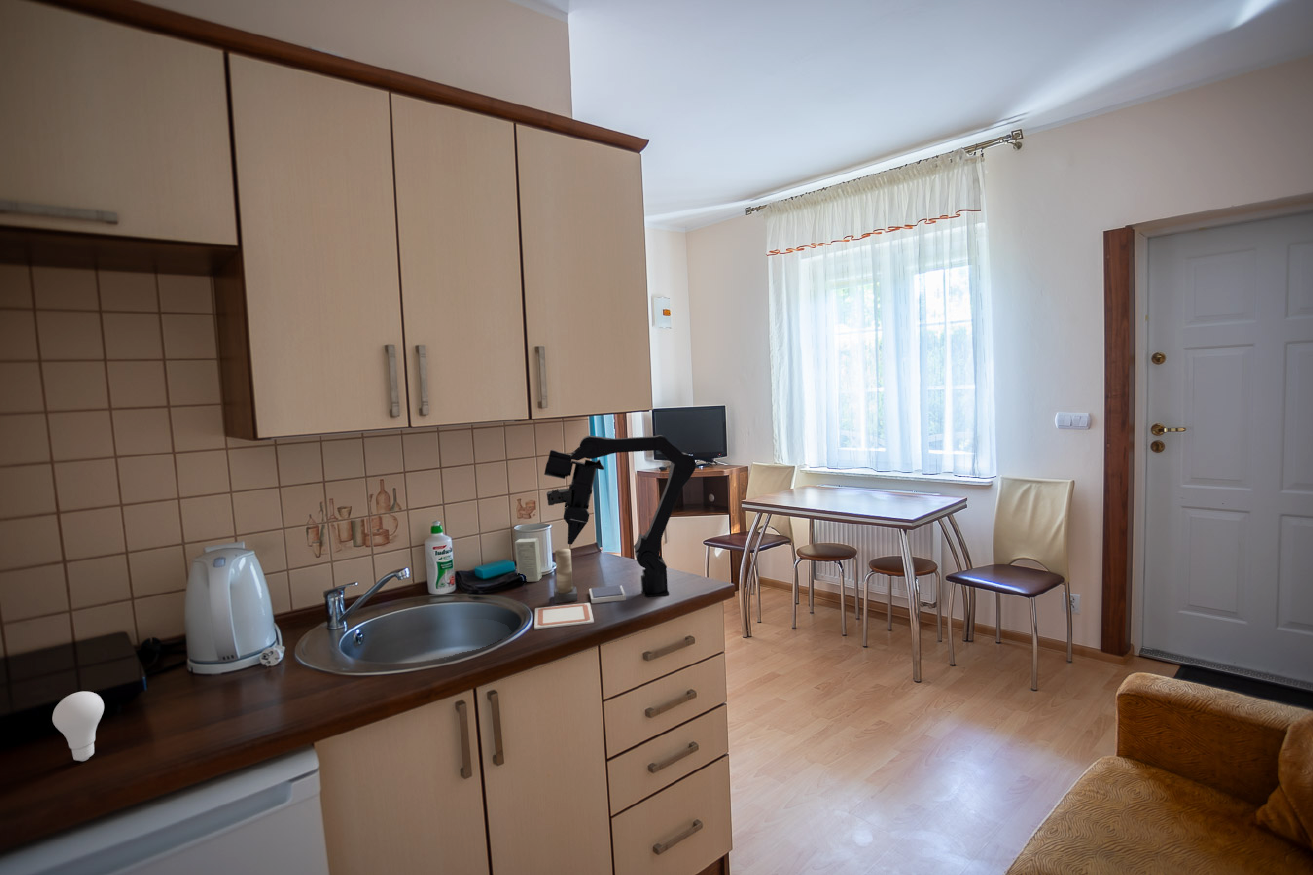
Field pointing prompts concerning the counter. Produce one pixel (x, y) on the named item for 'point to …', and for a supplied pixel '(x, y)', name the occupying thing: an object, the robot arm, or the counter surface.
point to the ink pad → (607, 594)
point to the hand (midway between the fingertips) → (569, 540)
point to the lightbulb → (79, 722)
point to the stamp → (564, 577)
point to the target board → (563, 616)
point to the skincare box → (528, 558)
